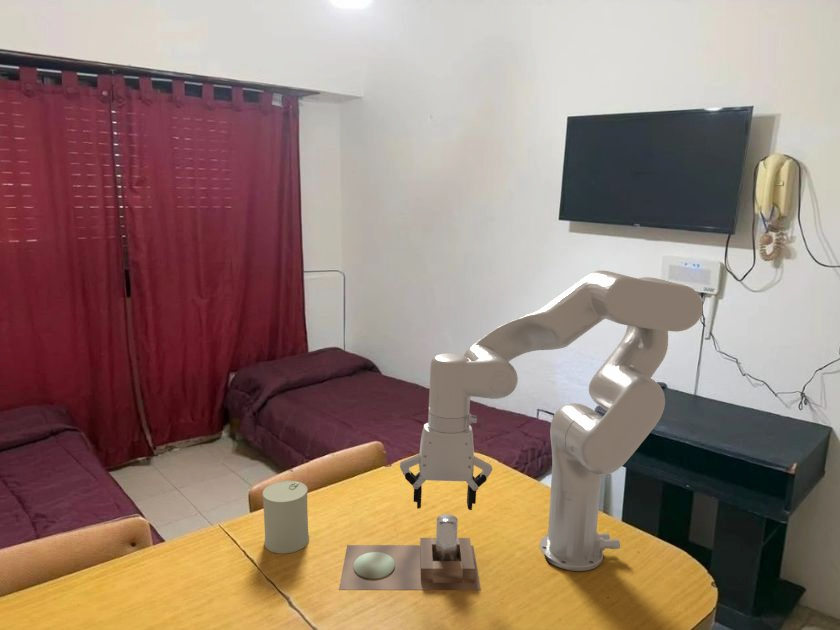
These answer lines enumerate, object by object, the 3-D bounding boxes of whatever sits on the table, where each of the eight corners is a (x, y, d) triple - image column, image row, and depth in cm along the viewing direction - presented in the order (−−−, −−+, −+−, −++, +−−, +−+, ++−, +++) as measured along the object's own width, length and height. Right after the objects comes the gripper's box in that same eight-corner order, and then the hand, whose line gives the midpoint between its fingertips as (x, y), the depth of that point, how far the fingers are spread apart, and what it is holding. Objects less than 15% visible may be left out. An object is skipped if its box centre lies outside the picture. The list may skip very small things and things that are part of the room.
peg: (455, 560, 119) (456, 514, 116) (457, 572, 115) (458, 525, 113) (435, 560, 118) (436, 514, 116) (436, 572, 115) (437, 525, 113)
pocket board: (473, 549, 124) (473, 532, 123) (480, 594, 110) (481, 575, 109) (347, 549, 123) (346, 531, 123) (339, 594, 110) (338, 575, 109)
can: (318, 535, 128) (316, 484, 126) (290, 558, 120) (288, 504, 118) (284, 524, 132) (282, 474, 130) (255, 546, 124) (252, 493, 122)
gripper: (492, 415, 114) (487, 497, 118) (401, 412, 114) (399, 494, 117) (498, 430, 107) (492, 517, 110) (401, 427, 106) (398, 514, 110)
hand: (444, 505), depth 114 cm, fingers open, 9 cm apart
